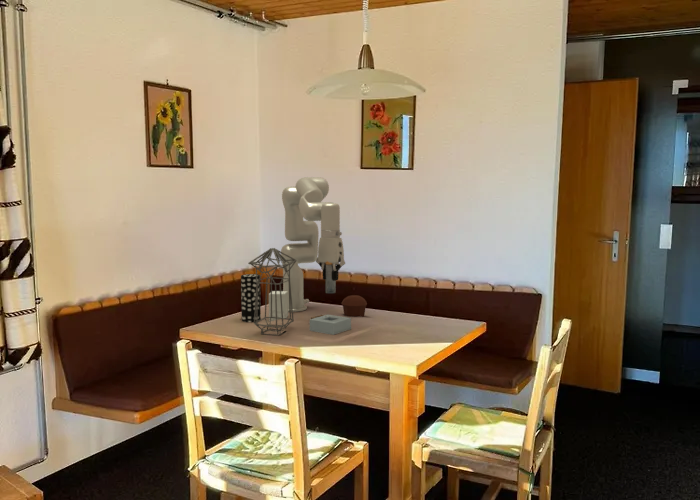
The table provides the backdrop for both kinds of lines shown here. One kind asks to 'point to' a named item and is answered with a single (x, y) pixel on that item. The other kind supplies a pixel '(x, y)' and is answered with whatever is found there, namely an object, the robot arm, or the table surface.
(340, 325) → the socket
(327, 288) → the pin
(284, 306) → the supplement box
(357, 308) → the muffin
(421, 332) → the table surface
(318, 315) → the mount
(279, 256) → the geometric lantern
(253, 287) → the spotted tube
